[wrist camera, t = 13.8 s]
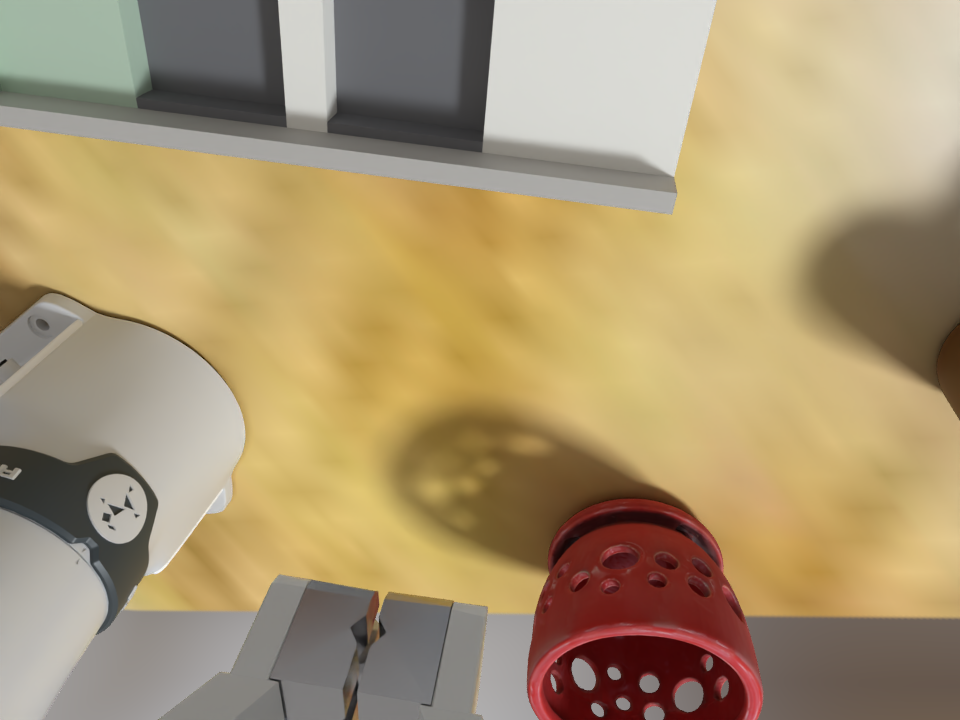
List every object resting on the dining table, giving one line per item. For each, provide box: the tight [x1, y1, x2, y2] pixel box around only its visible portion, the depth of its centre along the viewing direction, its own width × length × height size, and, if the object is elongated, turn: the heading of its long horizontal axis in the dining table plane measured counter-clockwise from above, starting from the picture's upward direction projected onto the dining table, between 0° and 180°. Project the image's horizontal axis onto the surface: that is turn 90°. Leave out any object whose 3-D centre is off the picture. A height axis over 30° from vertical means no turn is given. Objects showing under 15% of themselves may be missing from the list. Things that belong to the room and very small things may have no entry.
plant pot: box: [527, 499, 763, 720], centre depth 46 cm, size 13×13×12 cm
